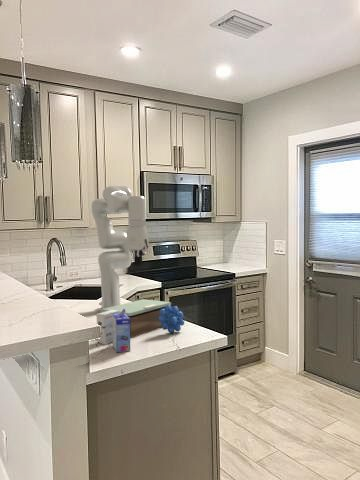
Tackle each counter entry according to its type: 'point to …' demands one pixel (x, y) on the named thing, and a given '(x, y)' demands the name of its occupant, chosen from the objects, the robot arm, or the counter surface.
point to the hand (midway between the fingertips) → (138, 265)
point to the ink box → (106, 326)
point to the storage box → (145, 322)
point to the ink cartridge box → (121, 332)
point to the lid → (138, 306)
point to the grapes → (171, 318)
